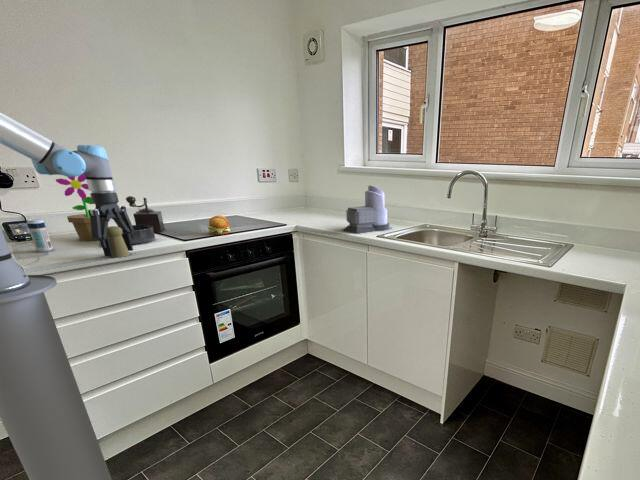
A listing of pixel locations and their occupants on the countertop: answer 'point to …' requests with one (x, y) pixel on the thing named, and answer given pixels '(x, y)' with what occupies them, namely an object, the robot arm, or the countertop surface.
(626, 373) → the countertop surface
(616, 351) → the countertop surface
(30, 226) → the white cylindrical container
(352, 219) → the juicer
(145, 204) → the brown coffee grinder
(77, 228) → the flowerpot
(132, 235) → the dark grey shallow bowl
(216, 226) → the cheeseburger
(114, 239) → the cork
